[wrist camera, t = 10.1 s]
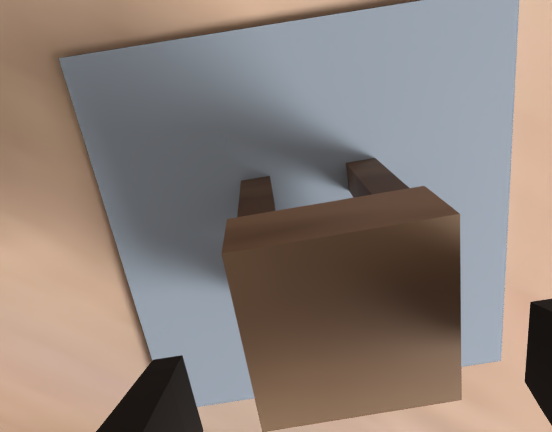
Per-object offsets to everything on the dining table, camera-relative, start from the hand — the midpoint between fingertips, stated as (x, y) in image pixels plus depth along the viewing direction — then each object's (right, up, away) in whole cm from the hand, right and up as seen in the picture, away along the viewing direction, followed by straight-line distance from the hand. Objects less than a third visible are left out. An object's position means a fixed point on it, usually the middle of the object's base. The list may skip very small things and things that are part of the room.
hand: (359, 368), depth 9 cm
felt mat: (0, +3, +7) cm, 7 cm away
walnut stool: (0, +3, +7) cm, 7 cm away
